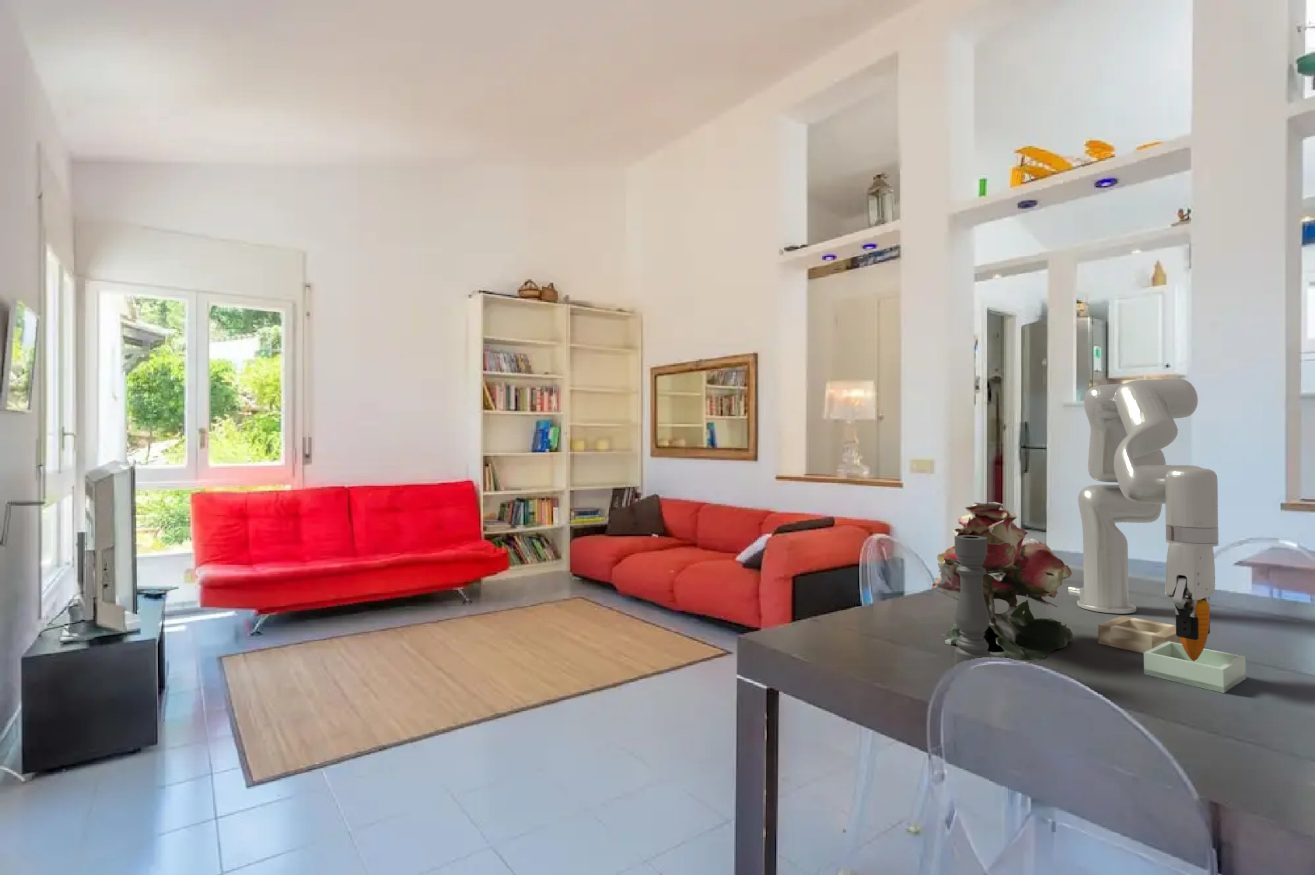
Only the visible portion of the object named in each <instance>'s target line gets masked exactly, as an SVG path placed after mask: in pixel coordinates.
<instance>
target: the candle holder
mask: <svg viewBox="0 0 1315 875" xmlns="http://www.w3.org/2000/svg"><path fill="white" fill-rule="evenodd" d="M954 538H955V539H954V544H955V554H956V555H957V556H956V557H957V559H958V561H959V563H960V566H958V567H957V569H956V571H957V572H958V573H959V575H960V586H961V591H960V596H959V600H957V604H956V609H955V614H954V622H955V623H954V624H956V625H957V627H958V628H959V629H960V631H959V632H960V633H961V635H960V637H959V639H957V641H956V644H955V645H956V646H957V647H955V649H954V666H955V665H956V664H958V663H960V662H962V661H964V660H971V659H975V658H982V657H990V658H991V654H990V652H991V651H990V650H989V647H990V644H988V643H987V642H986V640H985V638H983V636H984V635H985V631H986V630H987V628H988V627H989V623H990V618H989V615H988V611H987V607H986V603H985V599H984V595H983V582H982V577H983V575H985V574H986V569H985V568H983V567H982V565H983V563H984V561H985V559H986V556H987V538H986V537H982V536H970V535H961V536H955V537H954ZM987 649H988V650H987Z"/></svg>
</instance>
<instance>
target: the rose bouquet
mask: <svg viewBox="0 0 1315 875" xmlns="http://www.w3.org/2000/svg"><path fill="white" fill-rule="evenodd" d="M1003 506H1004V503H1000V502H997V501H993V502H990V501H989V502H987V503H981V502H973V504H972V505H970V506H965V507H964V508H965V509H966V511H967V512H969V514H965V515H962V516H960V517H959V518H958V519H957V520H958V522H957V523H958V524H959V525H961V526H962V528H954V529H952V534H953V535H954V536H953V537H954V540H955V536H961V535H970V536H982V537H986V538H987V556H986V559H985V561H984V563H983V565H982V567H983V568H985V569H986V574H985V575H983V577H982V582H983V595H984V599H985V603H986V607H987V611H988V615H989V618H990V623H989V627H988V628H987V630H986V631H985V635H984V636H983V638H985V640H986V642H987V643H988V644H989V645H994V642H995V643H996V645H997V646H1000V647H1001V648H1002V650H1003V651H997V652H996V651H994V652H993V651H989V648H988V649H987V650H988V651H989V652H990V655H991V654H992V656H997V657H999V658H1001V657H1005V658H1011V659H1014V660H1025V661H1028V662H1030V663H1035V662H1037V661H1040V660H1043V659H1046V658H1047V657H1048V656H1050V655H1052V652H1053V651H1055V650H1059V649H1064V648H1066V647H1067V646H1068V643H1069V642H1071V641H1073V636H1074V635H1073V632H1072V630H1071V628H1070V627H1067V623H1065V624H1063V625H1062V622H1061V621H1057V620H1055V619H1054V618H1044V617H1043V618H1034V614H1032V611H1031V609H1030V605H1029V599H1031V600H1033V601H1036V602H1038V603H1041V604H1043V605H1046V606H1049V605H1051V606H1053V607H1055V608H1058V606H1057V605H1056V604H1053V603H1051V602H1048V601H1047V600H1044V597H1050V598H1052V599H1054V598H1056V596H1057V594H1058V593H1059V592H1058V589H1059V587H1061V586H1062V585H1063V582H1062V580H1066V579H1068V578H1070V577H1071V576H1072V575H1073V572H1072V570H1071V568H1070V567H1069V565H1068V564H1065V563H1064V561H1063V560H1062V559H1061V558H1058V556H1056V555H1055V553H1054V552H1053V551H1052V550H1051V548H1050V546H1048V545H1047V543H1045V542H1043V541H1040V540H1038V539H1035V538H1029V537H1026V535H1028V531H1026V530H1025V529H1024V528H1019V527H1018V526H1017V524H1015V522H1013V521H1015V520H1016V519H1017V518H1018V516H1017V515H1016V514H1015V513H1012V512H1010V511H1009V510H1007V509H1006V508H1004V507H1003ZM956 556H957V555H956V554H955V543H954V544H953V545H952V546H951V547H949V548H947V549H946V550H945V551H944V552H942V553H938V554H937V560H938V562H937V566H938V573H939V576H938V577H935V578H934V579H935V580H936V582H935V583H932V584H931V589H932V590H933V591H935V592H938V593H941V594H942V595H945V596H947V597H950V598H952V599H953V600H956V601H958V600H959V596H960V591H961V586H960V575H959V573H958V572H957V571H956V569H957V567H958V566H960V563H959V561H958V559H957V557H956ZM1017 596H1021V597H1026V598H1029V599H1027V600H1026V601H1023V602H1021V603H1020V604H1018V599H1017ZM995 600H1002V601H1005V602H1006V603H1007V604H1008V608H1007V610H1006V611H1004V612H1001V613H996V612H995V611H996V610H995V609H996V606H995ZM1017 604H1018V605H1017ZM959 631H960V629H959V628H958V627H957V625H956V623H953V624H952V626H951V629H950V631H948V632H946V633H941V634H939V637H950V638H947V639H945V640H944V642H945V643H944V644H946V645H949V646H950V645H951V646H952V645H957V644H956V641H957V639H959V637H960V635H961V633H960V632H959ZM1031 659H1034V660H1031ZM1030 663H1029V664H1030Z"/></svg>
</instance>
